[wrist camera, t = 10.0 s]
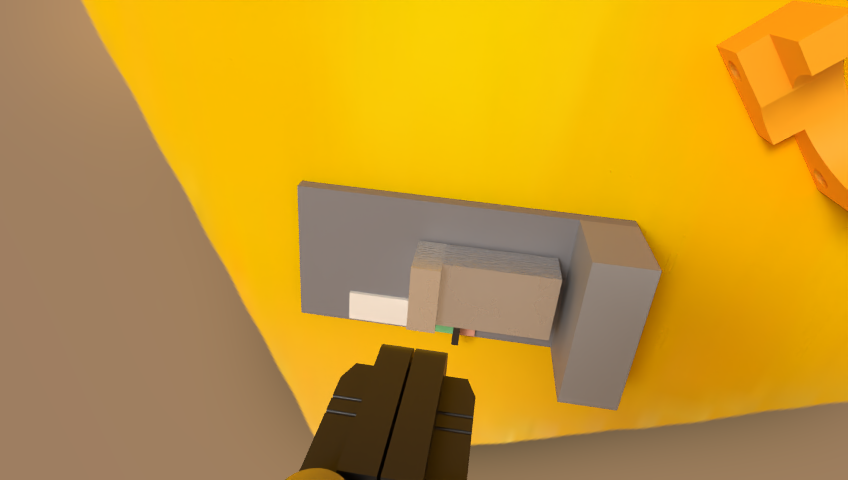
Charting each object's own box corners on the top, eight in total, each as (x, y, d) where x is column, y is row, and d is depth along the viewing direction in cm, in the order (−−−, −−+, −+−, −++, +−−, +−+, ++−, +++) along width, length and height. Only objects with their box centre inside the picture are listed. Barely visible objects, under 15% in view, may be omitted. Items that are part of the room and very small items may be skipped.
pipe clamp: (715, 45, 33) (760, 62, 27) (791, 0, 31) (856, 9, 26) (788, 201, 36) (841, 246, 31) (859, 168, 35) (929, 208, 29)
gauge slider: (558, 258, 39) (563, 288, 35) (539, 344, 42) (542, 379, 39) (419, 240, 40) (410, 267, 36) (411, 326, 43) (403, 359, 40)
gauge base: (635, 221, 38) (661, 271, 32) (600, 346, 43) (617, 410, 37) (302, 180, 40) (265, 220, 34) (305, 305, 45) (274, 359, 39)
